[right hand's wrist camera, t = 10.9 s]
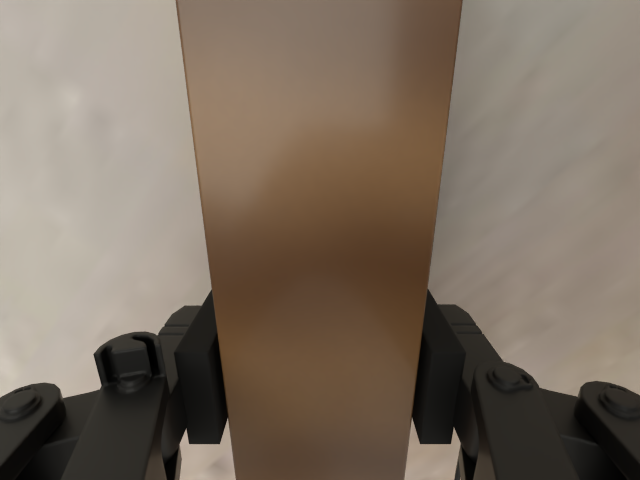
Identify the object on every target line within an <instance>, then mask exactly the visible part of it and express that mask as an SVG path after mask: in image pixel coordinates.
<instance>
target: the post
mask: <svg viewBox="0 0 640 480" xmlns="http://www.w3.org/2000/svg"><path fill="white" fill-rule="evenodd" d="M462 1H463V0H176V7H177V15H178V23H179V31H180V39H181V47H182V55H183V63H184V71H185V79H186V87H187V95H188V103H189V111H190V119H191V126H192V134H193V142H194V150H195V158H196V166H197V174H198V182H199V190H200V198H201V206H202V214H203V222H204V230H205V238H206V246H207V254H208V262H209V270H210V278H211V286H212V293H213V301H214V309H215V317H216V325H217V333H218V341H219V349H220V357H221V365H222V373H223V381H224V389H225V397H226V405H227V413H228V421H229V429H230V437H231V445H232V452H233V460H234V468H235V476H236V480H404V477H405V469H406V461H407V453H408V444H409V436H410V428H411V420H412V412H413V403H414V395H415V387H416V379H417V371H418V362H419V354H420V346H421V338H422V330H423V321H424V313H425V305H426V297H427V289H428V280H429V272H430V264H431V256H432V247H433V239H434V231H435V223H436V215H437V206H438V198H439V190H440V182H441V174H442V165H443V157H444V149H445V141H446V133H447V124H448V116H449V108H450V100H451V92H452V83H453V75H454V67H455V59H456V51H457V42H458V34H459V26H460V18H461V10H462Z"/></svg>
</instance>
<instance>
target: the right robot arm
mask: <svg viewBox="0 0 640 480" xmlns="http://www.w3.org/2000/svg"><path fill="white" fill-rule="evenodd" d="M94 358H95V362H96V366H97V369H98V373H99V377H100V381H101V385H102V386H101V388H100V390H97V391H93V392H89V393H85V394H80V395H76V396H71V397H67V398H63V397H62V394H61V391H60V389H59V388H58V387H57V386H56V385H55V384H50V383H38V384H31V385H28V386H24V387H21V388H18V389H16V390H14V391H12V392H10V393H8V394H6V395H4V396H2V397H1V398H0V480H179V478H180V469H181V461H182V458H181V451H180V445H179V444H180V442H181V439H182V437H183V434H184V432H185V430H186V428H187V434H188V440H189V444H220V442H221V438H222V435H223V432H224V428H225V425H226V422H227V418H228V413H227V405H226V397H225V389H224V381H223V373H222V365H221V357H220V349H219V341H218V333H217V325H216V317H215V309H214V301H213V293H212V290H211V291H210V293H209V295H208V296H207V298H206V300H205V301H204V303H203V305H202V306H184V307H182V308H181V309H179V310H178V311H176V312H175V313H173V314H172V315H171V317H170V318H169V319H168V321H167V322H166V323H165V326H164V327H163V328H162V329H161V330H160V332H159V333H158V335H156V334H153V333H149V332H133V333H128V334H124V335H121V336H118V337H116V338H114V339H111V340H109V341H108V342H106V343H105V344H103V345H102V346H100V347H99V348H98V350H97V351H96V352H95V353H94ZM412 418H413V422H414V425H415V428H416V432H417V435H418V438H419V442H420V444H451V440H452V434H453V428H455V430H456V433H457V435H458V437H459V440H460V442H461V445H460V451H459V456H458V462H457V467H456V473H455V480H460V477H461V480H640V395H638V394H636V393H634V392H632V391H630V390H628V389H626V388H624V387H621V386H619V385H615V384H611V383H607V382H599V381H593V382H587V383H585V384H584V385H583V386H582V387H581V388H580V391H579V394H578V397H576V396H572V395H567V394H563V393H558V392H554V391H549V390H546V389H542V388H539V386H538V384H537V383H536V381H535V380H534V378H533V377H532V376H531V375H529V374H528V373H527V372H525V371H524V370H523V369H521V368H519V367H517V366H514V365H512V364H509V363H506V362H503V360H502V359H501V358H500V356H499V355H498V354H497V352H496V351H495V349H494V348H493V347H492V345H491V344H490V343H489V341H488V340H487V338H486V337H485V336H484V334H482V332H481V330H480V329H479V327H478V326H476V323H475V322H474V321H473V319H472V318H471V316H470V315H469V314H468V313H467V312H466V311H464V310H463V309H461V308H460V307H458V306H457V305H437V303H436V301H435V300H434V298H433V296H432V295H431V293H430V291H429V290H428V289H427V297H426V305H425V313H424V321H423V330H422V338H421V346H420V354H419V362H418V371H417V379H416V387H415V395H414V403H413V412H412Z"/></svg>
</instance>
